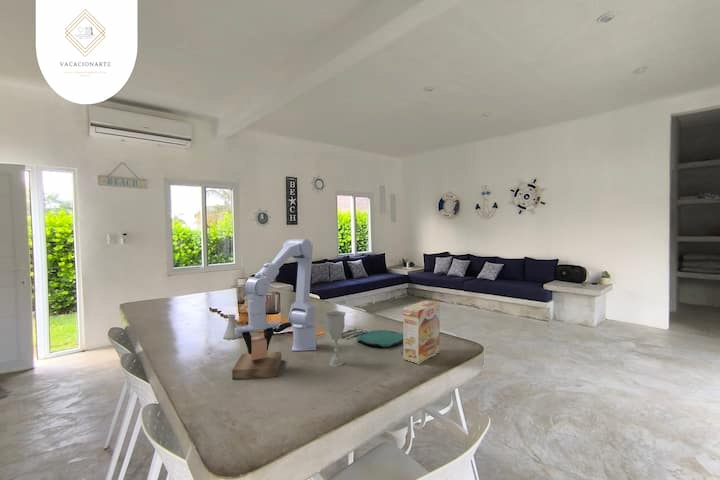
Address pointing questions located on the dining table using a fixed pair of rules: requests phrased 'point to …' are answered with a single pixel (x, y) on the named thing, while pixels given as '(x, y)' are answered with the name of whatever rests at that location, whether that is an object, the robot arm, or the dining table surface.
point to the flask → (231, 328)
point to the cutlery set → (377, 337)
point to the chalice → (335, 333)
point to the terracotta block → (258, 348)
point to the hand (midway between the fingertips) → (258, 351)
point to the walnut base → (257, 366)
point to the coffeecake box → (421, 331)
